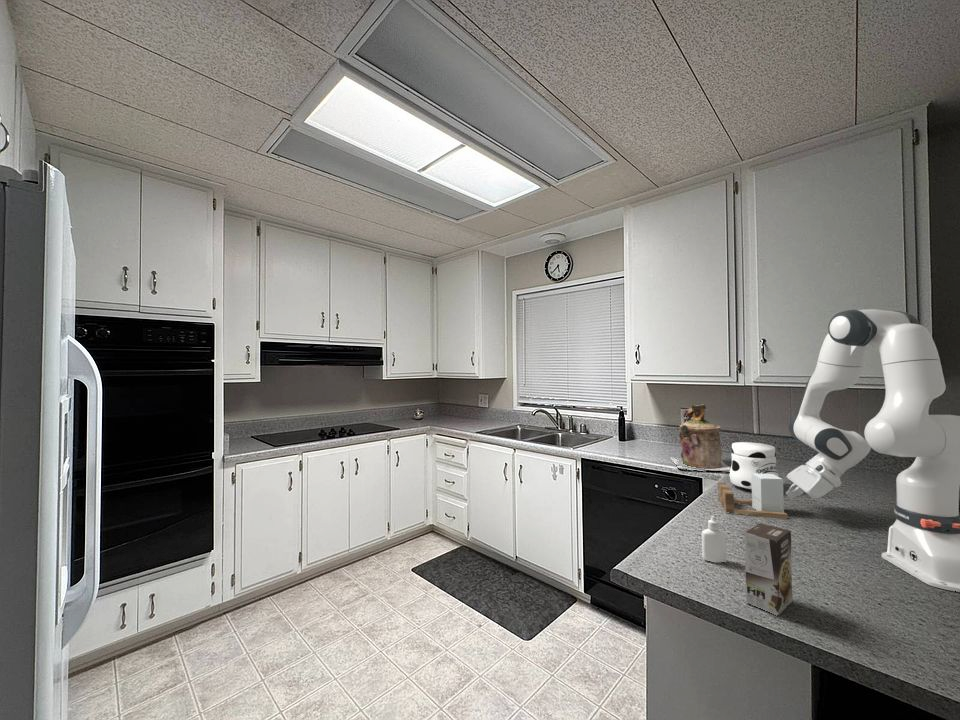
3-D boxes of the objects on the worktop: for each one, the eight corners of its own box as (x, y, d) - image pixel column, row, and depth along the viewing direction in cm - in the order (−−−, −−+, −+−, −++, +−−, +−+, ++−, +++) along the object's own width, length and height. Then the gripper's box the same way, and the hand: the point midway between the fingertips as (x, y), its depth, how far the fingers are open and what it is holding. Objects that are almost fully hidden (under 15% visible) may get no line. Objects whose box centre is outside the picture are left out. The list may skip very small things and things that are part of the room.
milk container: (779, 498, 160) (777, 451, 160) (727, 490, 170) (726, 447, 170) (780, 486, 173) (779, 444, 173) (732, 480, 184) (731, 440, 184)
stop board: (734, 514, 144) (733, 494, 144) (725, 513, 145) (725, 493, 145) (726, 501, 156) (725, 483, 157) (718, 501, 157) (718, 483, 157)
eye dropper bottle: (704, 554, 115) (703, 511, 115) (727, 560, 112) (726, 516, 112) (700, 560, 112) (699, 516, 112) (724, 566, 108) (723, 521, 108)
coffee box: (778, 617, 87) (776, 541, 87) (744, 603, 92) (743, 531, 92) (794, 602, 92) (792, 530, 92) (761, 589, 97) (759, 521, 97)
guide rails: (787, 519, 139) (787, 514, 139) (726, 513, 145) (726, 509, 145) (775, 506, 151) (774, 502, 151) (719, 501, 157) (719, 497, 157)
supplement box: (784, 515, 142) (784, 479, 142) (760, 514, 143) (760, 478, 144) (774, 508, 149) (773, 473, 149) (751, 507, 151) (750, 472, 151)
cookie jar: (720, 461, 217) (718, 401, 217) (735, 474, 193) (734, 406, 193) (669, 459, 223) (668, 401, 224) (678, 471, 200) (677, 406, 200)
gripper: (801, 456, 151) (771, 480, 155) (826, 470, 132) (790, 498, 136) (816, 469, 150) (785, 493, 153) (844, 486, 131) (807, 513, 134)
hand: (788, 496), depth 144 cm, fingers closed
